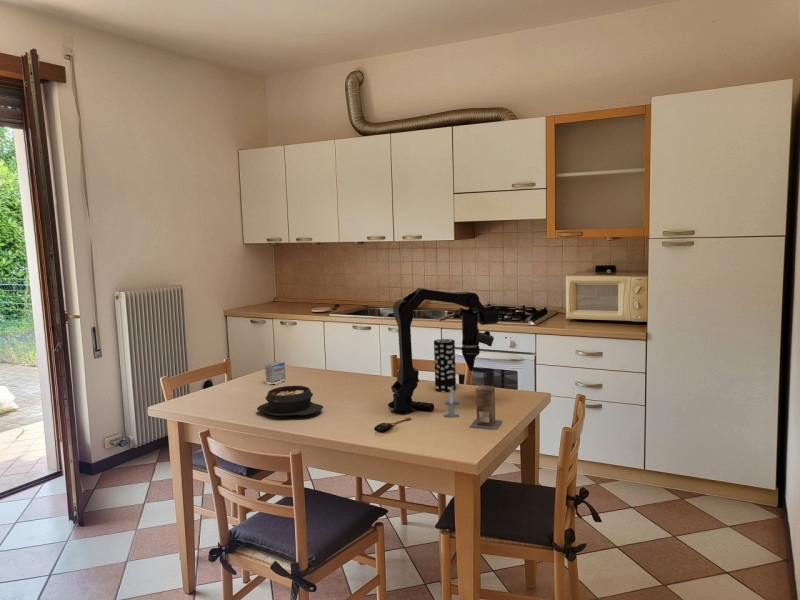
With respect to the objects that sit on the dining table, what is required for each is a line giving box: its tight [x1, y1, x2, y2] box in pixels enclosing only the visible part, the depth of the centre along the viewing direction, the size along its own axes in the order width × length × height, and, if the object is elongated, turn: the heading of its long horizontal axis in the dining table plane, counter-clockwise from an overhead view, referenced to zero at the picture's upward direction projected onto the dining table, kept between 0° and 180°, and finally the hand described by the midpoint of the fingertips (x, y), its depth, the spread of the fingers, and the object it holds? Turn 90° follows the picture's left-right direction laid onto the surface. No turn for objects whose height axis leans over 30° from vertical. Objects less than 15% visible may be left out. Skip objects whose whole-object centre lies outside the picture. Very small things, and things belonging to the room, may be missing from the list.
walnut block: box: [475, 384, 496, 426], centre depth 196 cm, size 5×5×12 cm
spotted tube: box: [433, 338, 457, 393], centre depth 241 cm, size 8×8×20 cm
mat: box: [469, 417, 503, 430], centre depth 196 cm, size 9×9×1 cm
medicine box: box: [264, 361, 287, 383], centre depth 264 cm, size 8×4×9 cm, turn 147°
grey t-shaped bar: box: [443, 389, 460, 418], centre depth 214 cm, size 18×5×5 cm, turn 174°
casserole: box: [256, 385, 324, 417], centre depth 217 cm, size 25×19×8 cm
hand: (471, 368), depth 221 cm, fingers open, 9 cm apart
